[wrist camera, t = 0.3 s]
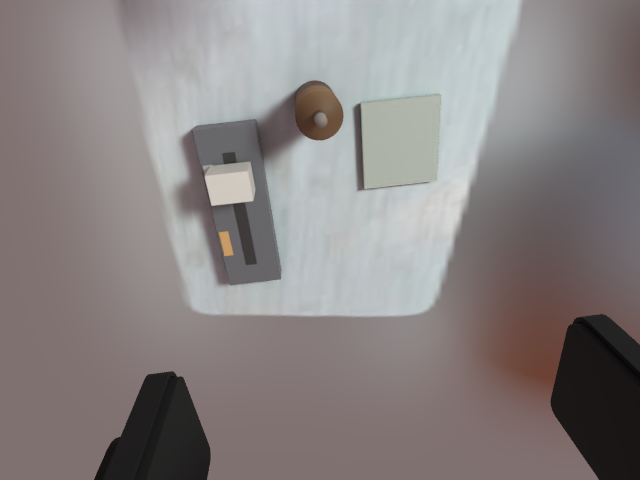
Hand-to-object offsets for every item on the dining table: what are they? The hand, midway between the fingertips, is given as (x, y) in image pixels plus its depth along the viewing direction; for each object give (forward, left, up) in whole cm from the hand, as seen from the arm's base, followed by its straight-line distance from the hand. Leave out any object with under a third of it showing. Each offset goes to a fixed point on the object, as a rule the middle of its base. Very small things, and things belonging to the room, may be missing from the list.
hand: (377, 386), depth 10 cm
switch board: (+9, -8, -34) cm, 36 cm away
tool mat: (+4, +9, -34) cm, 36 cm away
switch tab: (+5, -8, -32) cm, 33 cm away
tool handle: (-1, +1, -34) cm, 34 cm away
